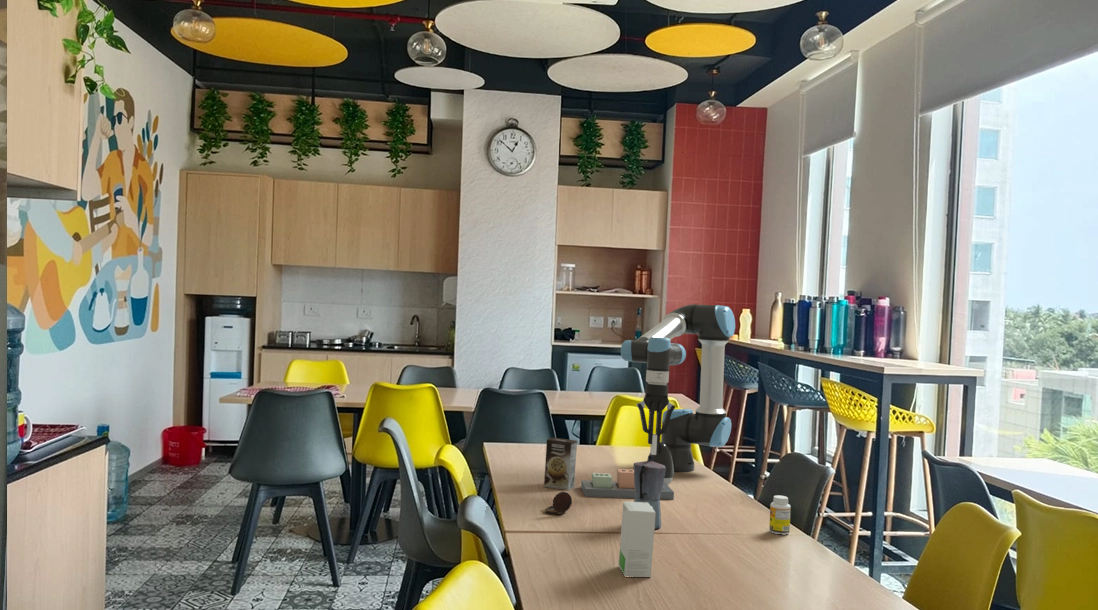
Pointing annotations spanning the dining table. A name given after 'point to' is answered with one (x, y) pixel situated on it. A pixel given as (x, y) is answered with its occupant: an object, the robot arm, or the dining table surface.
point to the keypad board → (619, 491)
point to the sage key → (601, 480)
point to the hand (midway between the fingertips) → (653, 454)
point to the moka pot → (649, 485)
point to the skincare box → (637, 539)
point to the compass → (559, 504)
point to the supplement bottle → (780, 515)
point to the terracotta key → (625, 478)
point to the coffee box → (560, 463)
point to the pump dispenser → (664, 461)
